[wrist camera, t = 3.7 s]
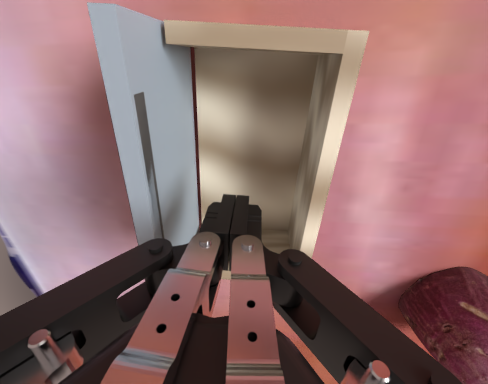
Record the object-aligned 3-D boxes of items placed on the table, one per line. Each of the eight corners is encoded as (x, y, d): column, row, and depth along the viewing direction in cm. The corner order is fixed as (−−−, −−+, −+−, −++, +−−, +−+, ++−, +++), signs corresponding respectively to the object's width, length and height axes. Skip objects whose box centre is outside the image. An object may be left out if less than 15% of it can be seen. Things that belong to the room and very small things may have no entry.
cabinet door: (172, 29, 17) (81, 2, 8) (189, 31, 17) (115, 4, 8) (188, 230, 26) (151, 318, 17) (199, 231, 26) (168, 319, 17)
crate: (196, 32, 18) (163, 19, 12) (332, 40, 18) (369, 30, 12) (204, 226, 27) (187, 275, 21) (294, 233, 27) (304, 286, 20)
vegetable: (448, 301, 35) (547, 455, 24) (380, 302, 34) (451, 464, 23) (509, 263, 28) (691, 461, 17) (425, 264, 27) (560, 473, 16)
